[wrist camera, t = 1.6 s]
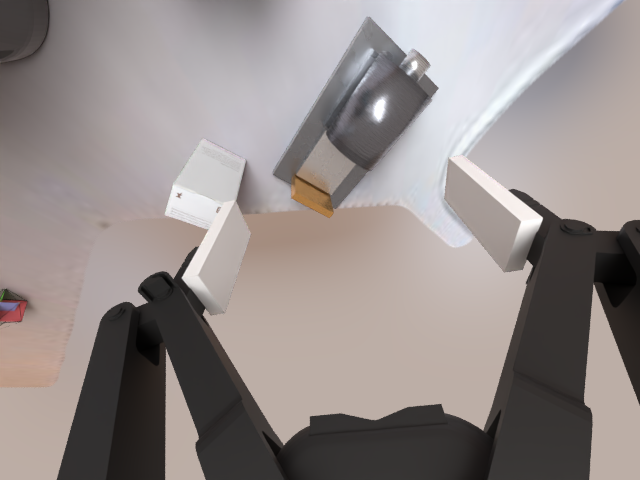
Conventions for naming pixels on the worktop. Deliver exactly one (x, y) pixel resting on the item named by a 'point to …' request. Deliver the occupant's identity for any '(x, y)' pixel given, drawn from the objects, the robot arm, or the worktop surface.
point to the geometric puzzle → (11, 309)
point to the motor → (355, 119)
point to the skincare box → (205, 185)
